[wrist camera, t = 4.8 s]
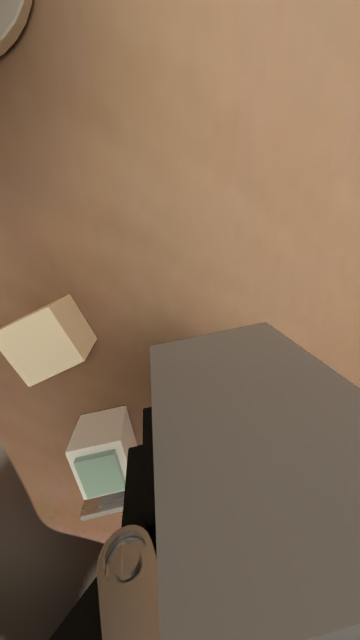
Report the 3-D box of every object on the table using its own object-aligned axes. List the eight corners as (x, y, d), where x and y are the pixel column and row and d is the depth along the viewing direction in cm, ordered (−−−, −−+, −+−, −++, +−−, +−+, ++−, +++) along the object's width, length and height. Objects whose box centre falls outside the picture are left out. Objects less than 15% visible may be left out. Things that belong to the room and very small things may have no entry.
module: (149, 346, 10) (164, 794, 2) (265, 322, 10) (683, 616, 2) (177, 468, 12) (236, 896, 4) (271, 445, 13) (485, 801, 5)
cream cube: (22, 316, 23) (-13, 335, 18) (69, 293, 23) (48, 306, 18) (52, 359, 24) (28, 387, 19) (97, 338, 24) (84, 361, 19)
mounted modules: (80, 415, 26) (62, 458, 21) (290, 370, 28) (324, 399, 22) (95, 457, 28) (82, 506, 23) (291, 413, 30) (322, 449, 24)
